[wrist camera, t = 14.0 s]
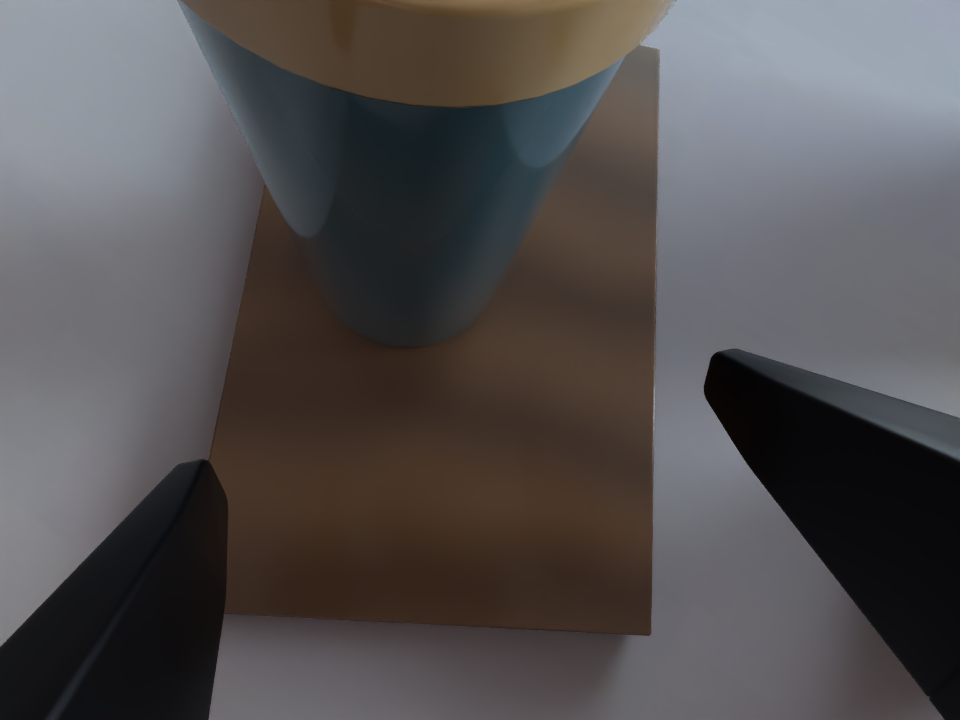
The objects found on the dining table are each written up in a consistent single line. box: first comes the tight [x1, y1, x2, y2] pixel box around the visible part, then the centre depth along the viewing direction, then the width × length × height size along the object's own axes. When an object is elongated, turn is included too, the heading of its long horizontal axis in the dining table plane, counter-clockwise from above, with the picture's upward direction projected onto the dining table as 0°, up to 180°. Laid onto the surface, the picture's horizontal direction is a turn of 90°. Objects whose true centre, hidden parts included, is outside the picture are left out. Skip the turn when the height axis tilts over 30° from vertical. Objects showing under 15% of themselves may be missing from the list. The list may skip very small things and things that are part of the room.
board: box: [209, 44, 660, 636], centre depth 18 cm, size 22×14×1 cm, turn 175°
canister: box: [177, 0, 677, 348], centre depth 10 cm, size 7×7×14 cm
